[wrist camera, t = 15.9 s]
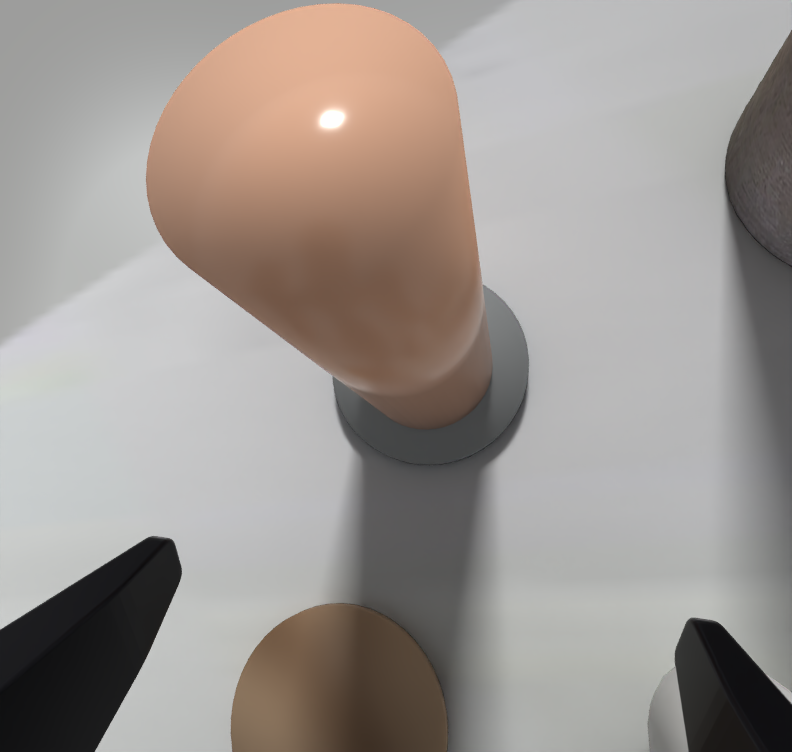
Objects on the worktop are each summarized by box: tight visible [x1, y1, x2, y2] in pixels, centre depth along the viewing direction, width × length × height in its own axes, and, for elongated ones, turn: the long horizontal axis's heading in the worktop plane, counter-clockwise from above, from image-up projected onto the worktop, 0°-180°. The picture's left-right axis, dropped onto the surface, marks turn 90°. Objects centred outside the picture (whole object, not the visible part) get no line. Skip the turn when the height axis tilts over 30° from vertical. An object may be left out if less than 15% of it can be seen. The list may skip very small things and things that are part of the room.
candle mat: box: [333, 285, 529, 465], centre depth 21 cm, size 8×8×1 cm
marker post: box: [146, 3, 493, 430], centre depth 14 cm, size 5×5×13 cm
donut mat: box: [231, 603, 448, 752], centre depth 18 cm, size 8×8×1 cm
